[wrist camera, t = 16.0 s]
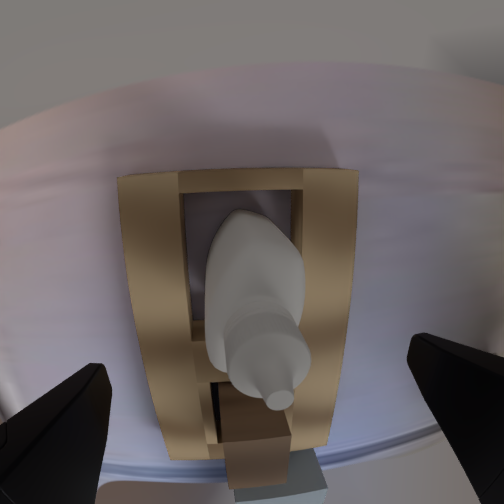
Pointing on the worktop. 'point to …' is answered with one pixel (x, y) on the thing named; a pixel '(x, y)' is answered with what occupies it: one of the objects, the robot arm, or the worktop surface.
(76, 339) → the worktop surface
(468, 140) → the worktop surface
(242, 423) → the walnut peg
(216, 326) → the eye dropper bottle
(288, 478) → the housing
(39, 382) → the worktop surface
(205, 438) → the socket board
